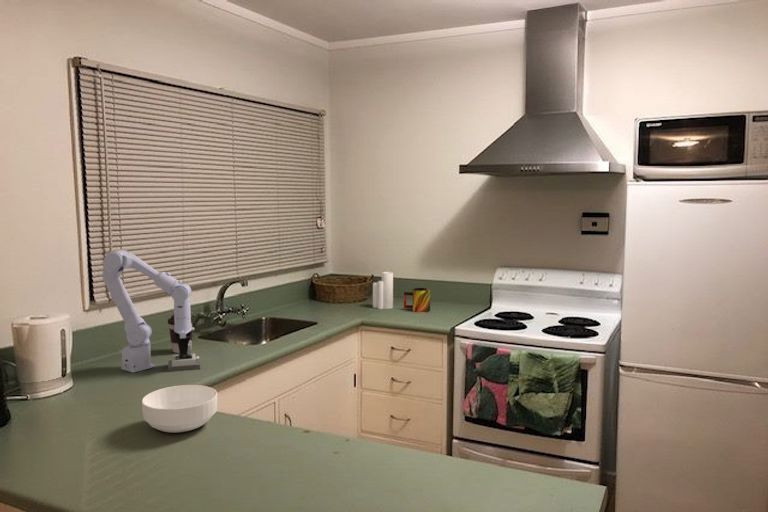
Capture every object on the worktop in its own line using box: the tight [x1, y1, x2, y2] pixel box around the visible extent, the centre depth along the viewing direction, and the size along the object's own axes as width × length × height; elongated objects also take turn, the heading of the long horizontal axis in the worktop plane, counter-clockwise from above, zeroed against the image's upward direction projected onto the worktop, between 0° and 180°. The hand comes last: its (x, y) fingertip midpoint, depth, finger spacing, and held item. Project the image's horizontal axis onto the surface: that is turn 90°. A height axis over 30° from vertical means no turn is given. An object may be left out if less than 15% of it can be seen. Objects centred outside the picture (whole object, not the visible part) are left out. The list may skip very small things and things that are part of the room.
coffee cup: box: [167, 314, 195, 354], centre depth 238 cm, size 10×10×15 cm
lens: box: [178, 339, 192, 359], centre depth 217 cm, size 5×5×6 cm
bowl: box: [141, 384, 218, 433], centre depth 162 cm, size 20×20×8 cm
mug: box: [403, 287, 431, 313], centre depth 322 cm, size 10×14×12 cm
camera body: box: [167, 353, 201, 373], centre depth 217 cm, size 11×9×4 cm
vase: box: [372, 271, 394, 310], centre depth 330 cm, size 11×7×20 cm, turn 93°
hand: (183, 353), depth 217 cm, fingers closed on lens, 4 cm apart
